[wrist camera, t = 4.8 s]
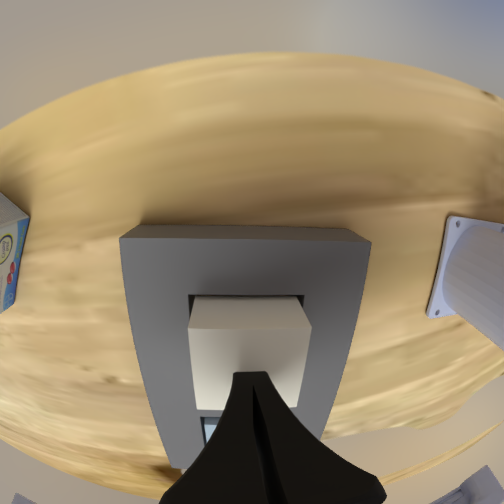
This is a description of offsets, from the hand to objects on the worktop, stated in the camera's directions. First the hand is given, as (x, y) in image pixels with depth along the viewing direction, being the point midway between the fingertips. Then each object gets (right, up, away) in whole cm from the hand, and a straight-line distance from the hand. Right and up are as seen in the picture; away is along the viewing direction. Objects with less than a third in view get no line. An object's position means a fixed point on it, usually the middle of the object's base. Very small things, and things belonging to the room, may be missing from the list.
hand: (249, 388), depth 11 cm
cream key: (0, +1, +4) cm, 4 cm away
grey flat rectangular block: (-1, -2, +7) cm, 8 cm away
